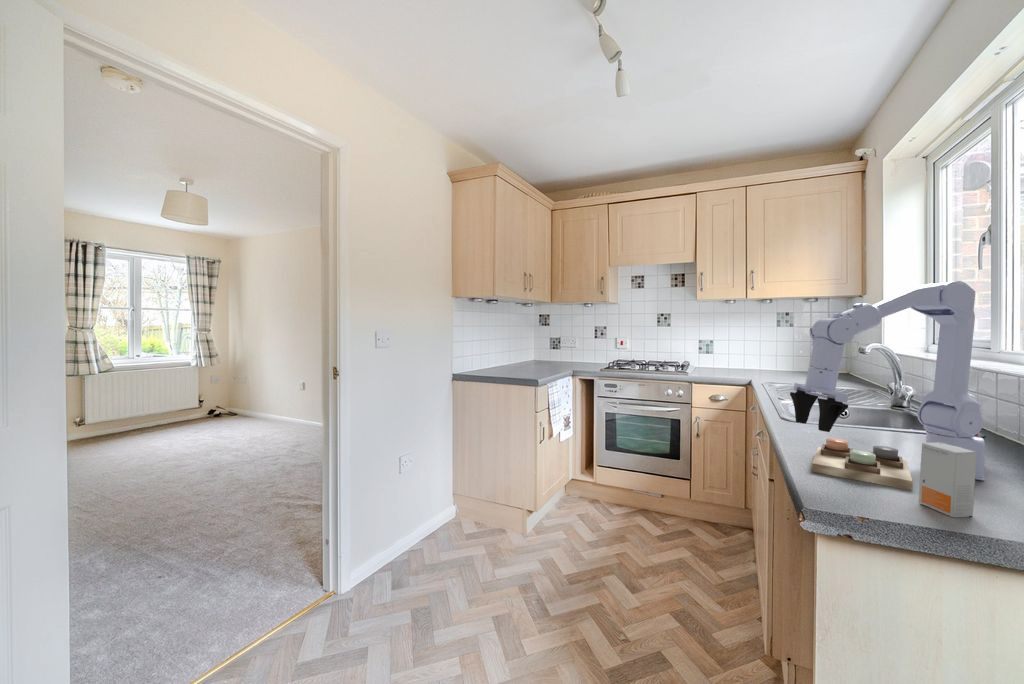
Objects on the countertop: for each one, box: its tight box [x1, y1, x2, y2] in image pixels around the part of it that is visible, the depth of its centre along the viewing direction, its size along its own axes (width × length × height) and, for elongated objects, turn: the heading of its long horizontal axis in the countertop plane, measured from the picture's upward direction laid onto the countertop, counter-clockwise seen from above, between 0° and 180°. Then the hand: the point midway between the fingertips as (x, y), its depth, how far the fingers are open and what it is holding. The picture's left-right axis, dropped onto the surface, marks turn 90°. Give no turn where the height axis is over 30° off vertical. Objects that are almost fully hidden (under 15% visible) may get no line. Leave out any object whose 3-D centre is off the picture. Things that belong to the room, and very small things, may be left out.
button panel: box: [811, 443, 913, 491], centre depth 99 cm, size 17×16×3 cm
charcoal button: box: [872, 445, 899, 459], centre depth 98 cm, size 4×4×2 cm
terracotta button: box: [825, 437, 849, 450], centre depth 105 cm, size 4×4×2 cm
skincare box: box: [918, 442, 977, 518], centre depth 78 cm, size 6×4×12 cm
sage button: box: [850, 449, 876, 465], centre depth 95 cm, size 4×4×2 cm
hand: (811, 426), depth 98 cm, fingers open, 7 cm apart
